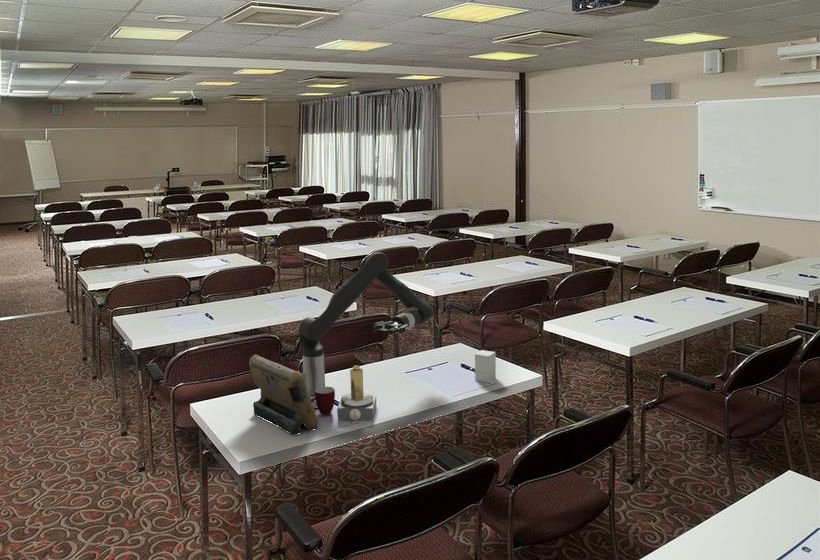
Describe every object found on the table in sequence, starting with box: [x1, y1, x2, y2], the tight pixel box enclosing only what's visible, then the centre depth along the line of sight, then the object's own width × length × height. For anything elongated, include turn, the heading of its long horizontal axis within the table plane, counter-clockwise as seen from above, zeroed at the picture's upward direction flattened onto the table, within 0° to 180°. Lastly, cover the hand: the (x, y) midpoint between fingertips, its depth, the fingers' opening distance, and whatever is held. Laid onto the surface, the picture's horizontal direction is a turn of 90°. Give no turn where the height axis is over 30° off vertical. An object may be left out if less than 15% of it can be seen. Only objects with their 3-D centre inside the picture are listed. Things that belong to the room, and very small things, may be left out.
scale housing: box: [336, 394, 377, 421], centre depth 273 cm, size 14×15×5 cm
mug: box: [310, 386, 336, 416], centre depth 273 cm, size 10×8×10 cm
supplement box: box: [474, 349, 497, 383], centre depth 309 cm, size 7×7×13 cm
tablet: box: [248, 354, 319, 435], centre depth 265 cm, size 33×14×25 cm, turn 49°
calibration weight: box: [349, 364, 364, 401], centre depth 271 cm, size 5×5×14 cm
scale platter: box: [340, 392, 373, 407], centre depth 273 cm, size 13×13×1 cm
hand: (381, 331), depth 283 cm, fingers open, 8 cm apart
